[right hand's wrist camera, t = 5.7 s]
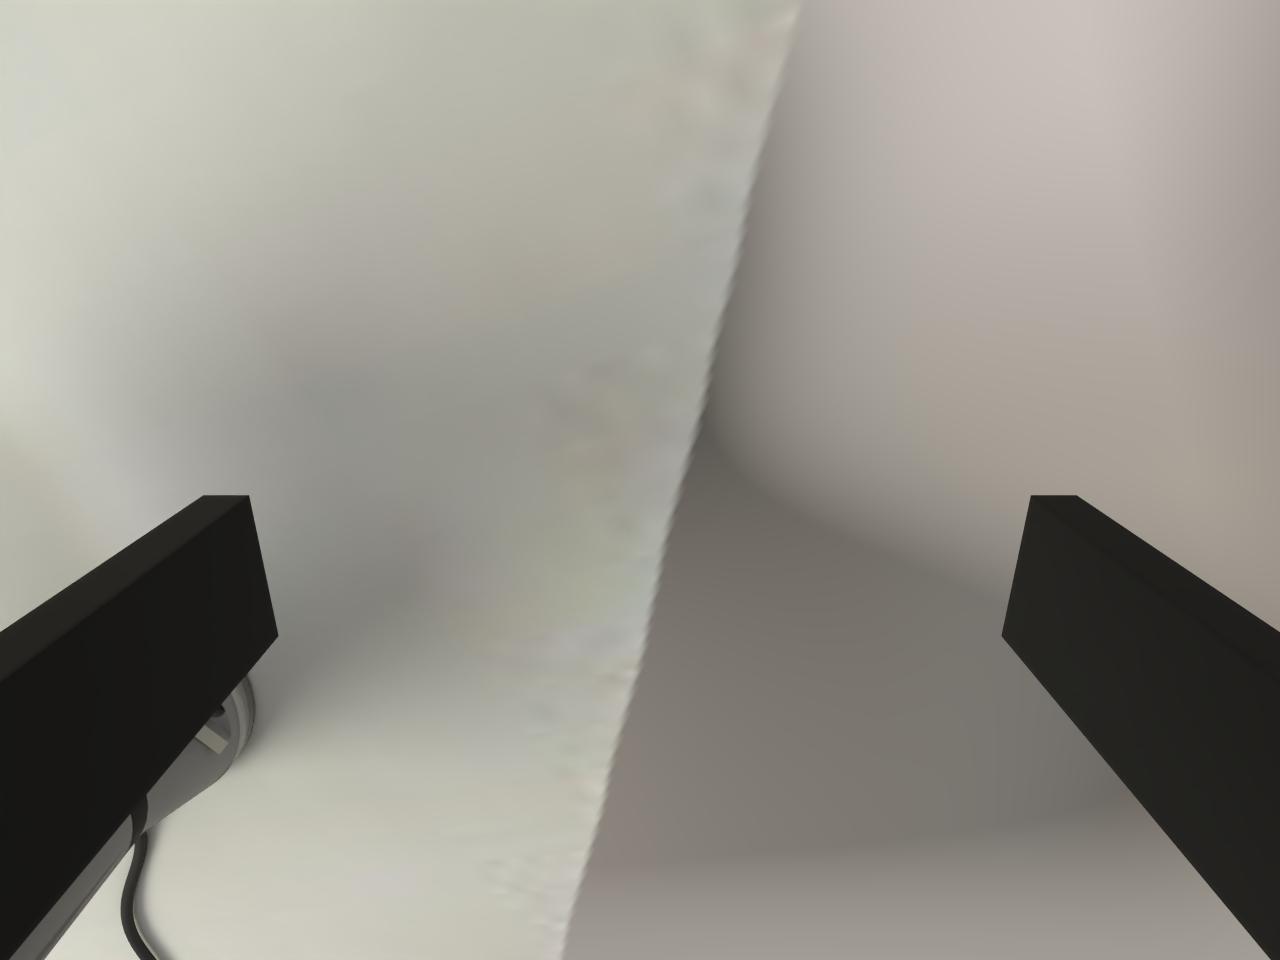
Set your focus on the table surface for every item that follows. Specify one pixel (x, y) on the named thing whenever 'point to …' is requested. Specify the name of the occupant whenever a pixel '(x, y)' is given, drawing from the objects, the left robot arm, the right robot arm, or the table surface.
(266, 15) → the table surface
